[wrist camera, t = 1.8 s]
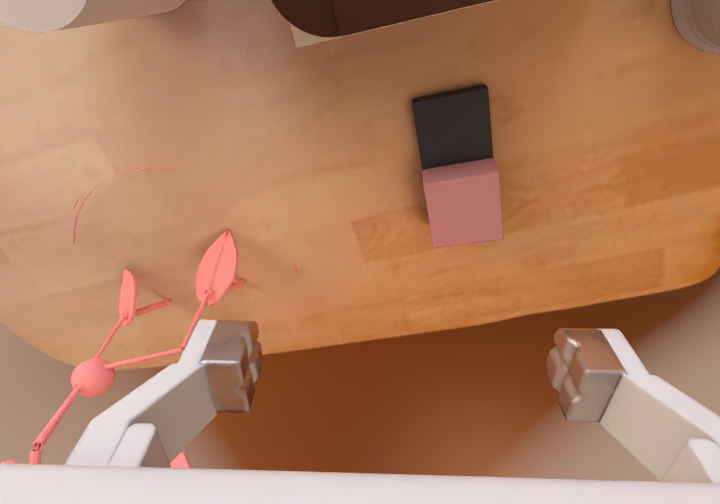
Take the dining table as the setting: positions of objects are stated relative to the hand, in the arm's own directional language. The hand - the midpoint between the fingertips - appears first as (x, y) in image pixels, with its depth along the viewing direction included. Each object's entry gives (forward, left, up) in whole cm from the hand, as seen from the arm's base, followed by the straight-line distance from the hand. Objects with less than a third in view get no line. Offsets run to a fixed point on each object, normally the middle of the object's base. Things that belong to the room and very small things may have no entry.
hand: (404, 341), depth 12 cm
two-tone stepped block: (-3, +5, -26) cm, 26 cm away
